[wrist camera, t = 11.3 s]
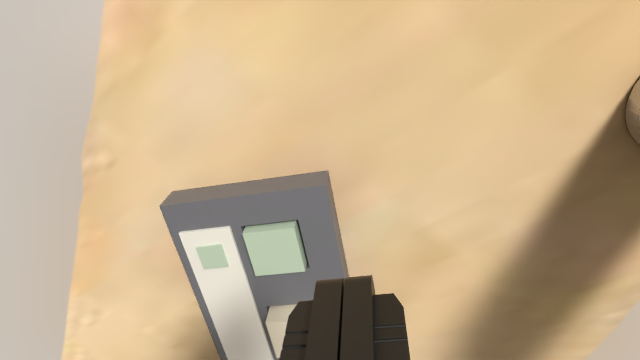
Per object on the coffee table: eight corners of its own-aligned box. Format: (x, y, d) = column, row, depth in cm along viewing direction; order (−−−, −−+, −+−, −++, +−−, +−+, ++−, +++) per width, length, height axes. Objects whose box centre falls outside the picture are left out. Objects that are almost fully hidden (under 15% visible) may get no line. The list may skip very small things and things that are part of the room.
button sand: (317, 294, 44) (313, 319, 41) (325, 329, 46) (323, 355, 43) (272, 298, 45) (265, 322, 42) (282, 332, 47) (276, 358, 44)
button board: (328, 170, 40) (325, 187, 36) (372, 397, 53) (373, 424, 50) (172, 191, 42) (157, 209, 39) (252, 402, 56) (245, 428, 52)
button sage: (299, 208, 41) (294, 227, 38) (309, 250, 43) (305, 271, 40) (251, 214, 42) (242, 233, 39) (263, 254, 44) (255, 276, 41)
